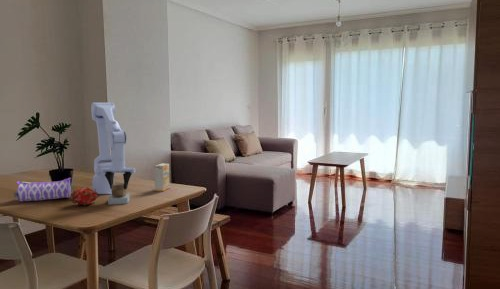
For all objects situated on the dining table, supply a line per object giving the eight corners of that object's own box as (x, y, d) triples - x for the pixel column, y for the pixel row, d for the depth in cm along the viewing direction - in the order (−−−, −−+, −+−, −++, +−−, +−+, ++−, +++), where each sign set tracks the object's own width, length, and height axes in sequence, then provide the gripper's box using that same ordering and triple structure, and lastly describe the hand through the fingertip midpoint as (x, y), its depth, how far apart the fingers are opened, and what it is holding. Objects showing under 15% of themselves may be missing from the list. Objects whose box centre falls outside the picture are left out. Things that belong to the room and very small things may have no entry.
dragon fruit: (67, 210, 157) (96, 209, 165) (74, 202, 151) (103, 201, 159) (66, 192, 160) (94, 192, 168) (72, 183, 155) (101, 183, 163)
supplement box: (163, 191, 185) (163, 165, 184) (154, 191, 186) (154, 165, 185) (170, 188, 193) (169, 163, 192) (161, 187, 194) (161, 162, 193)
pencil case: (14, 204, 160) (13, 182, 159) (19, 199, 169) (18, 178, 168) (71, 200, 168) (70, 179, 167) (72, 195, 177) (72, 175, 176)
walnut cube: (111, 196, 163) (111, 185, 162) (115, 193, 168) (115, 182, 167) (123, 196, 163) (123, 185, 162) (126, 194, 168) (126, 183, 167)
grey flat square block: (108, 205, 161) (108, 198, 161) (111, 200, 169) (111, 194, 168) (127, 204, 162) (127, 197, 162) (129, 199, 170) (129, 193, 170)
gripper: (98, 159, 159) (99, 190, 161) (131, 159, 160) (132, 190, 161) (104, 157, 166) (105, 187, 168) (136, 157, 167) (137, 187, 168)
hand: (118, 188), depth 165 cm, fingers open, 5 cm apart
